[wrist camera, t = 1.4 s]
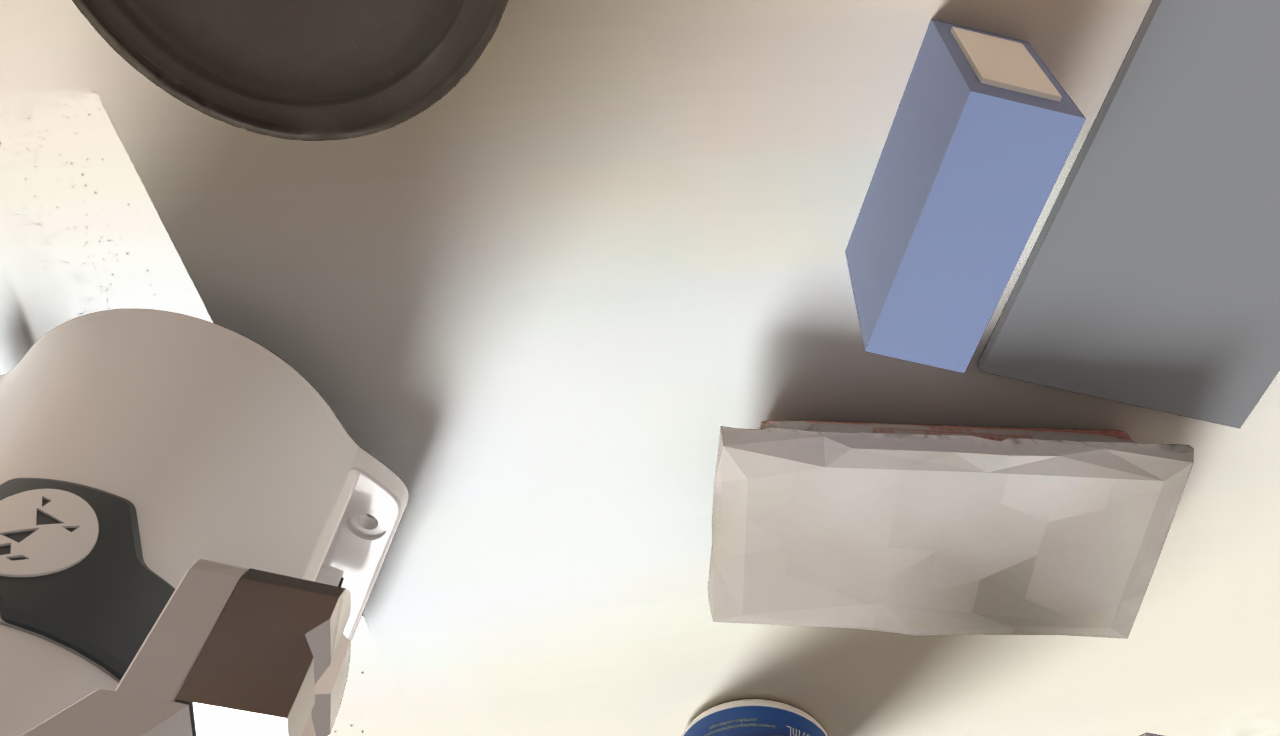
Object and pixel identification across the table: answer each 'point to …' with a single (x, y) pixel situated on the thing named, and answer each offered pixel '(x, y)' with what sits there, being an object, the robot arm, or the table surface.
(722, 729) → the beverage bottle
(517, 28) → the table surface
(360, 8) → the coffee can
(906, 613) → the packaged product
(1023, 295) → the mat
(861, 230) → the blue rectangular block
